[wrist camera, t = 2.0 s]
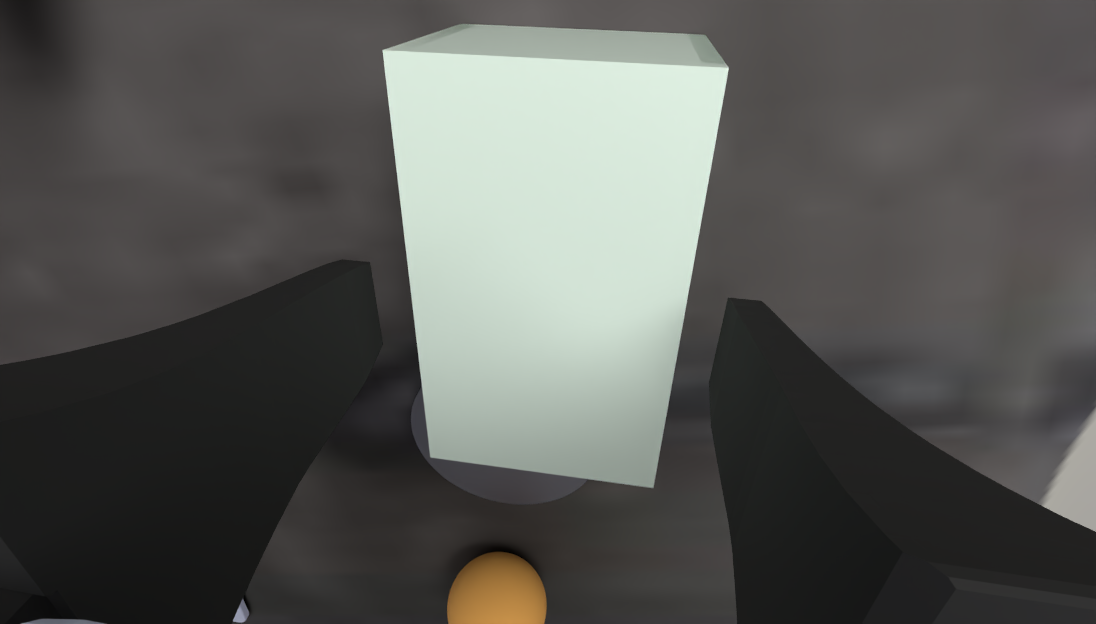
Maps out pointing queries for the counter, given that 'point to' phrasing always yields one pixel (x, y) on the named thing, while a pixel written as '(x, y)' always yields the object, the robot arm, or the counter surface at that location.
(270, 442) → the robot arm
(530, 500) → the spot
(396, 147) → the pale green block
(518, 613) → the ball
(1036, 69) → the counter surface
